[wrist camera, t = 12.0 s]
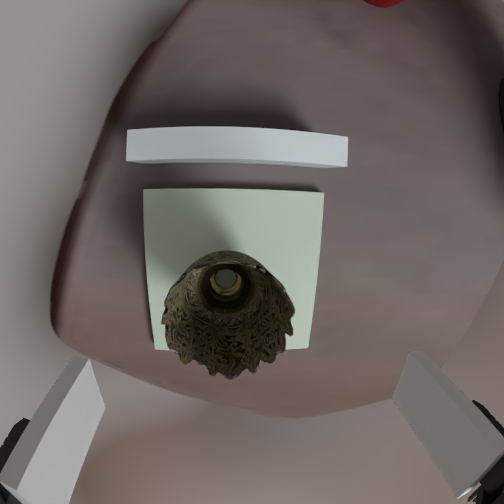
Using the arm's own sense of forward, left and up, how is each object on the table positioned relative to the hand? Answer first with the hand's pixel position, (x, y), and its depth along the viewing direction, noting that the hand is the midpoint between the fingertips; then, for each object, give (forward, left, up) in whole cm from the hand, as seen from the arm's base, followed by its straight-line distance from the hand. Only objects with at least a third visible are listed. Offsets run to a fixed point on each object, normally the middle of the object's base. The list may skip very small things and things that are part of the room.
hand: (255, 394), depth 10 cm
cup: (+1, 0, -14) cm, 14 cm away
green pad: (0, 0, -14) cm, 14 cm away
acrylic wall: (0, -10, -14) cm, 17 cm away
